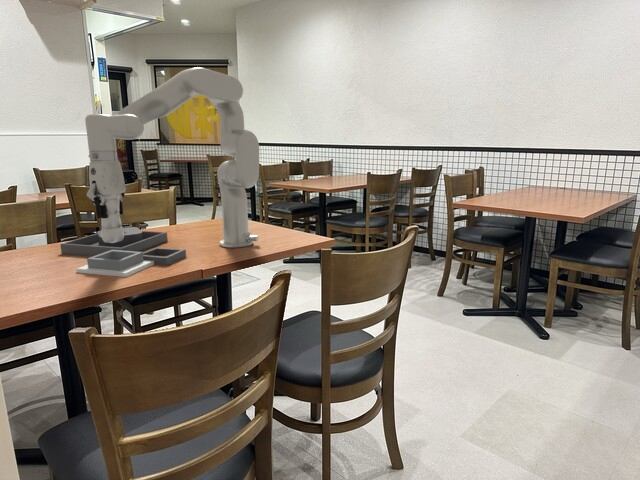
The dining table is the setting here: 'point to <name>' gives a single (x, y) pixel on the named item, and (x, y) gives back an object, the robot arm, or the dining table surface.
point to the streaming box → (130, 237)
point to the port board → (116, 263)
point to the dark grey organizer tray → (92, 248)
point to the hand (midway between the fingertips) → (110, 215)
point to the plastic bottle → (112, 220)
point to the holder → (170, 254)
